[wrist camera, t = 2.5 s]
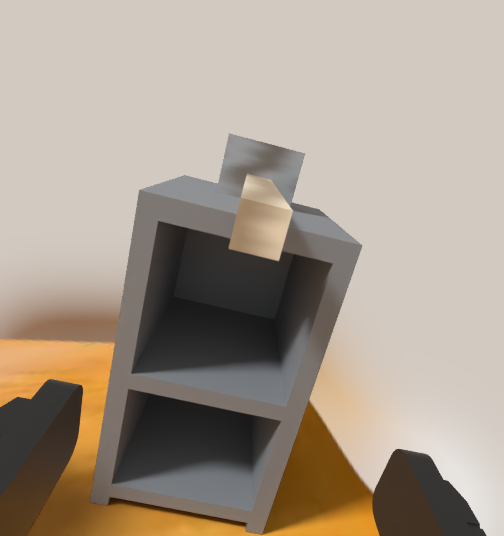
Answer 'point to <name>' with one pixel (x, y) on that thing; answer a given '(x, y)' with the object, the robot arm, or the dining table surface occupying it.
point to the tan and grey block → (260, 193)
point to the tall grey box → (215, 354)
